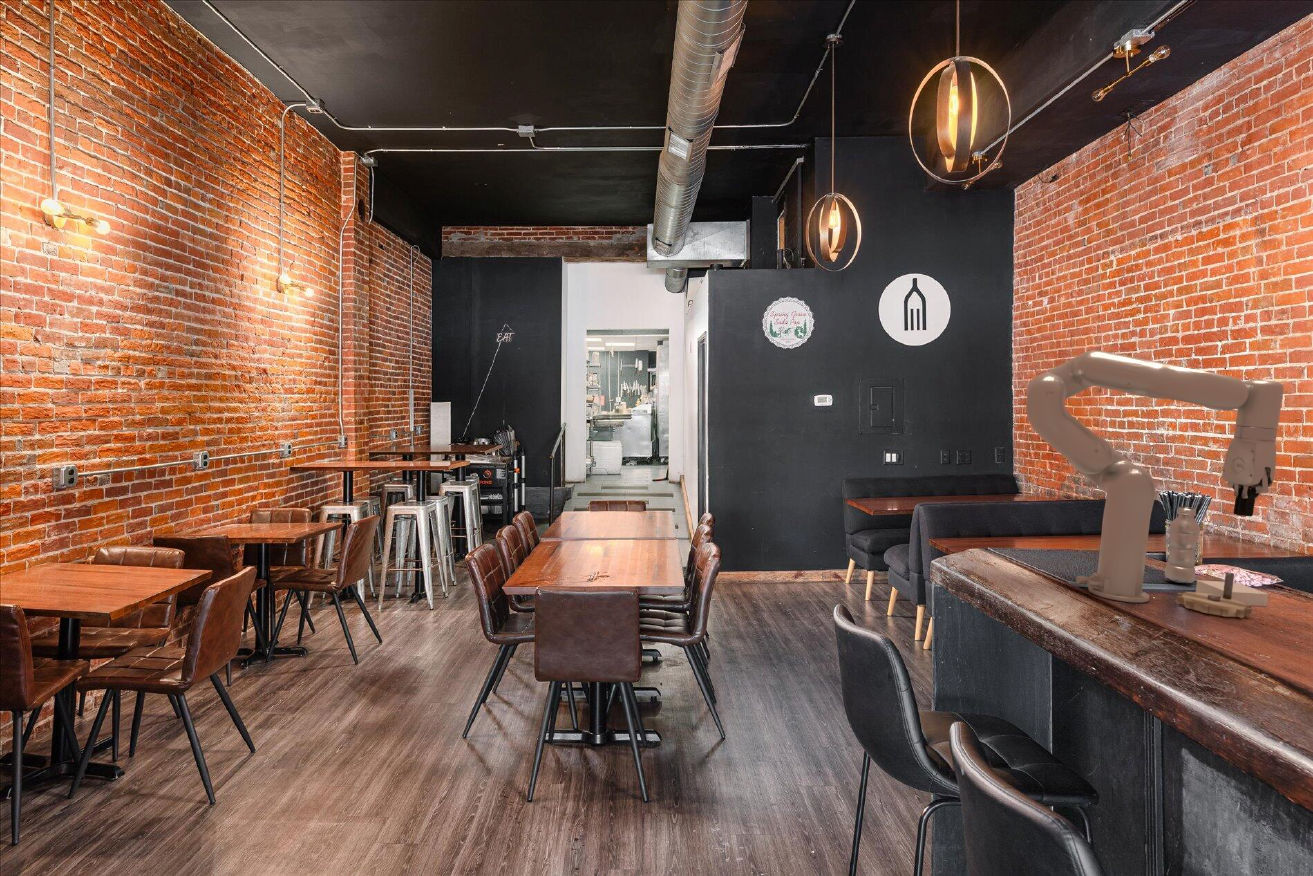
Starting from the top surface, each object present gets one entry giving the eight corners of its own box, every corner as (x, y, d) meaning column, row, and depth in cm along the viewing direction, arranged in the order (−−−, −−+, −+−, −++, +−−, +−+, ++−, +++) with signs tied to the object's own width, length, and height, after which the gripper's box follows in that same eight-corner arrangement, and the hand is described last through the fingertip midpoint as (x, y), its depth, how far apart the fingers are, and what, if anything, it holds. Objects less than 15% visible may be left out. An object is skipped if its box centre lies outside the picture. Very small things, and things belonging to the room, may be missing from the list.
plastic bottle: (1199, 588, 194) (1208, 511, 193) (1170, 585, 196) (1178, 509, 194) (1187, 581, 201) (1195, 507, 199) (1158, 578, 202) (1167, 504, 200)
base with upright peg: (1249, 622, 164) (1254, 587, 164) (1171, 607, 174) (1175, 573, 173) (1253, 609, 175) (1257, 576, 174) (1179, 595, 184) (1183, 563, 184)
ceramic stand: (1224, 604, 180) (1226, 591, 180) (1195, 591, 190) (1197, 580, 190) (1267, 606, 180) (1268, 594, 180) (1236, 594, 190) (1237, 582, 190)
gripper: (1214, 431, 178) (1203, 508, 180) (1263, 437, 163) (1251, 520, 165) (1246, 433, 178) (1235, 510, 179) (1299, 439, 163) (1285, 523, 165)
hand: (1242, 515), depth 172 cm, fingers closed
